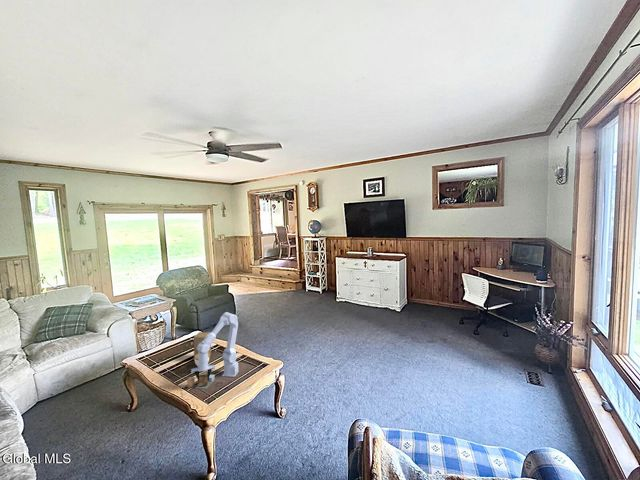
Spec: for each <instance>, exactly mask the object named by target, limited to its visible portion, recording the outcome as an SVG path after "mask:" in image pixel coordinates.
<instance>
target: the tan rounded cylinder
mask: <svg viewBox="0 0 640 480" xmlns="http://www.w3.org/2000/svg"><path fill="white" fill-rule="evenodd" d="M186 381H187V382H186V383H187V384H186V385H187V388H189V389H191V388H195V387H196V386H195V383H196V382H195V381H196V380H195V377H194V376H190V377H188V378H187V379H186Z"/></svg>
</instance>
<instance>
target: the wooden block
mask: <svg viewBox="0 0 640 480" xmlns="http://www.w3.org/2000/svg"><path fill="white" fill-rule="evenodd" d="M209 333H211V332H210V331H209V332H208V331H206V332H204V331H200V332H198V333H196V334H195V335H194V336H193V360H194V362H195V358H194V356H195V355H196V354H198V351H197V346H198V345H199V344H200V343H202V341H203V340H204V339H205V338H206V335H207V334H209ZM208 353H209V354H210V356H209V358H211V355H212V344H211V345H210V348H209V351H208Z"/></svg>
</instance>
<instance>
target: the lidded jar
mask: <svg viewBox="0 0 640 480" xmlns="http://www.w3.org/2000/svg"><path fill="white" fill-rule="evenodd" d="M209 356H210V354H209V353H208V363H209V361H210V357H211V356H210V357H209ZM194 358H195V361H194V363H195V365H196V366H197V367H199V357H198V354H196V355H195V356H194V355H193V359H194Z"/></svg>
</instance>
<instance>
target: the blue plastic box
mask: <svg viewBox="0 0 640 480" xmlns="http://www.w3.org/2000/svg"><path fill="white" fill-rule="evenodd" d="M215 376H216V375H215V374H210V376H209V381H208V382H212V383H213V382H214V380H215V379H216V377H215Z"/></svg>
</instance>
